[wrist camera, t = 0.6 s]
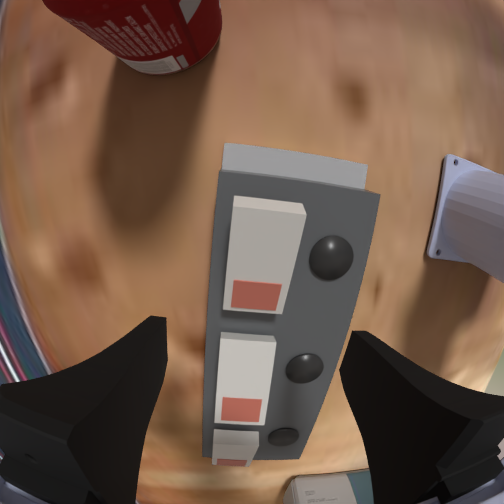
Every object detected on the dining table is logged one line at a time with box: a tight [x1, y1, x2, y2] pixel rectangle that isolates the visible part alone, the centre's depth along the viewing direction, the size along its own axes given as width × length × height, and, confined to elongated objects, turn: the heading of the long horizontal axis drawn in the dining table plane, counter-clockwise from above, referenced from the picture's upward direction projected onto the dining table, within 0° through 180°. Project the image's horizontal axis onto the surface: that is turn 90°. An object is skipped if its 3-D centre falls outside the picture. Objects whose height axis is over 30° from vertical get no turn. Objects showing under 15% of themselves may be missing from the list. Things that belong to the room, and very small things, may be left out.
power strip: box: [202, 143, 380, 460], centre depth 20 cm, size 9×27×4 cm, turn 173°
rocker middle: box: [214, 332, 276, 425], centre depth 17 cm, size 3×6×1 cm, turn 173°
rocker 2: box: [223, 196, 307, 314], centre depth 15 cm, size 3×6×1 cm, turn 173°
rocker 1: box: [212, 429, 259, 467], centre depth 20 cm, size 3×6×1 cm, turn 173°
